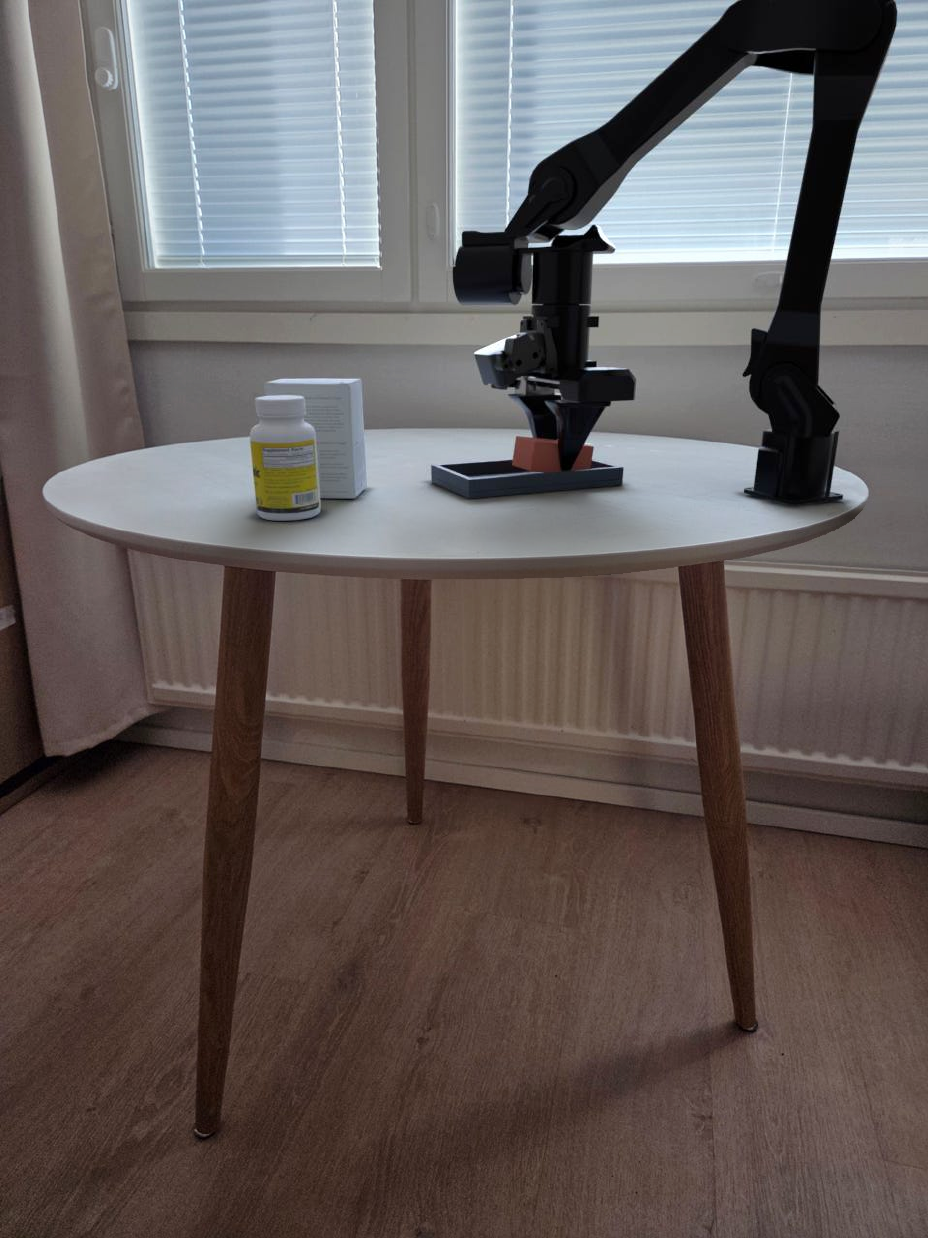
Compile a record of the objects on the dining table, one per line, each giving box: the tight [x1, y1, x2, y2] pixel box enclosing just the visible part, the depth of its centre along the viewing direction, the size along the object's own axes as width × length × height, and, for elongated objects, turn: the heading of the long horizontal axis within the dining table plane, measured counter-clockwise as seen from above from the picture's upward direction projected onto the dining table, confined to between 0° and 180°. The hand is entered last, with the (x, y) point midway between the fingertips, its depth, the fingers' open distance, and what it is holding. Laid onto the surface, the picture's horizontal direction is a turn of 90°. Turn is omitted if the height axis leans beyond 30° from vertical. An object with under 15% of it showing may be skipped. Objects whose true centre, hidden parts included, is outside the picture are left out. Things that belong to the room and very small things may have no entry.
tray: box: [430, 458, 624, 500], centre depth 86 cm, size 17×9×2 cm, turn 114°
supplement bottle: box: [249, 395, 322, 522], centre depth 70 cm, size 5×5×10 cm
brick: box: [512, 435, 595, 472], centre depth 86 cm, size 7×4×3 cm, turn 115°
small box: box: [263, 377, 368, 500], centre depth 79 cm, size 8×6×10 cm
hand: (554, 466), depth 87 cm, fingers closed on brick, 4 cm apart
